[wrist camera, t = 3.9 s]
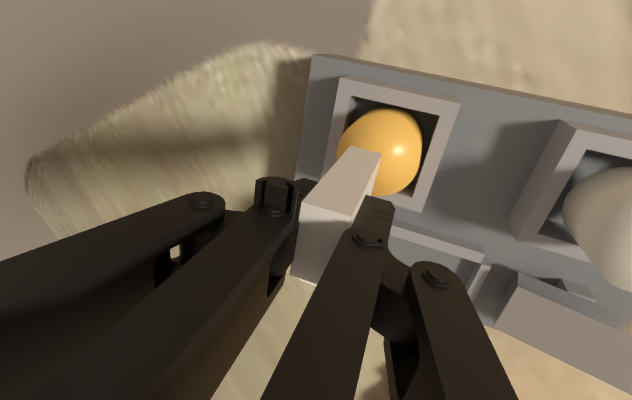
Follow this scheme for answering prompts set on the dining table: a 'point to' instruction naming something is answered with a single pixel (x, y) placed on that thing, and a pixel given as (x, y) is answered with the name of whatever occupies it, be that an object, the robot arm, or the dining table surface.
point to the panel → (477, 174)
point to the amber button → (387, 145)
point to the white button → (604, 222)
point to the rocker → (568, 329)
